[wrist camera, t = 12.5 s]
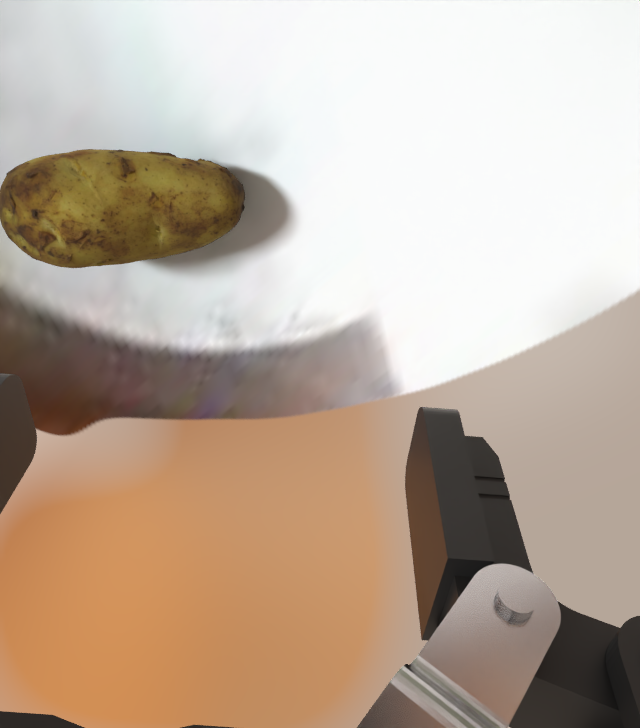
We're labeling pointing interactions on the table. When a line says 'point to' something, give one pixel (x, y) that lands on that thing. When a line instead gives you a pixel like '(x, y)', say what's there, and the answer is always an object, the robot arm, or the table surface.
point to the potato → (117, 206)
